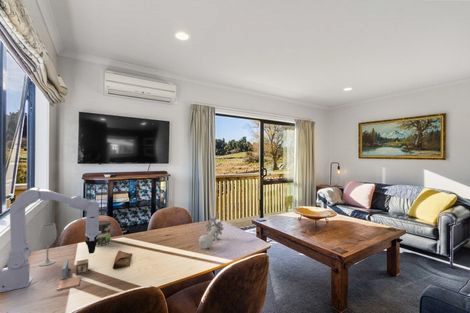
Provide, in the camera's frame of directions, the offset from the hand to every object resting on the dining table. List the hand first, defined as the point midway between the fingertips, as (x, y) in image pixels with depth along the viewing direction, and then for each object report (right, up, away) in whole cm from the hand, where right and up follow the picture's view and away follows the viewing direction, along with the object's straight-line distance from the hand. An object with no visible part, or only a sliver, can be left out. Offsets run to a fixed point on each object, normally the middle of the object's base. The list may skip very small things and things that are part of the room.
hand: (91, 250), depth 116 cm
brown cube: (-4, -10, -2) cm, 11 cm away
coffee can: (-16, -11, +36) cm, 41 cm away
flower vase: (+58, -12, +38) cm, 71 cm away
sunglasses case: (+11, -11, +10) cm, 19 cm away
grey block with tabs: (-10, -10, -5) cm, 15 cm away
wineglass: (-29, -10, +7) cm, 31 cm away
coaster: (-2, -10, -13) cm, 17 cm away
